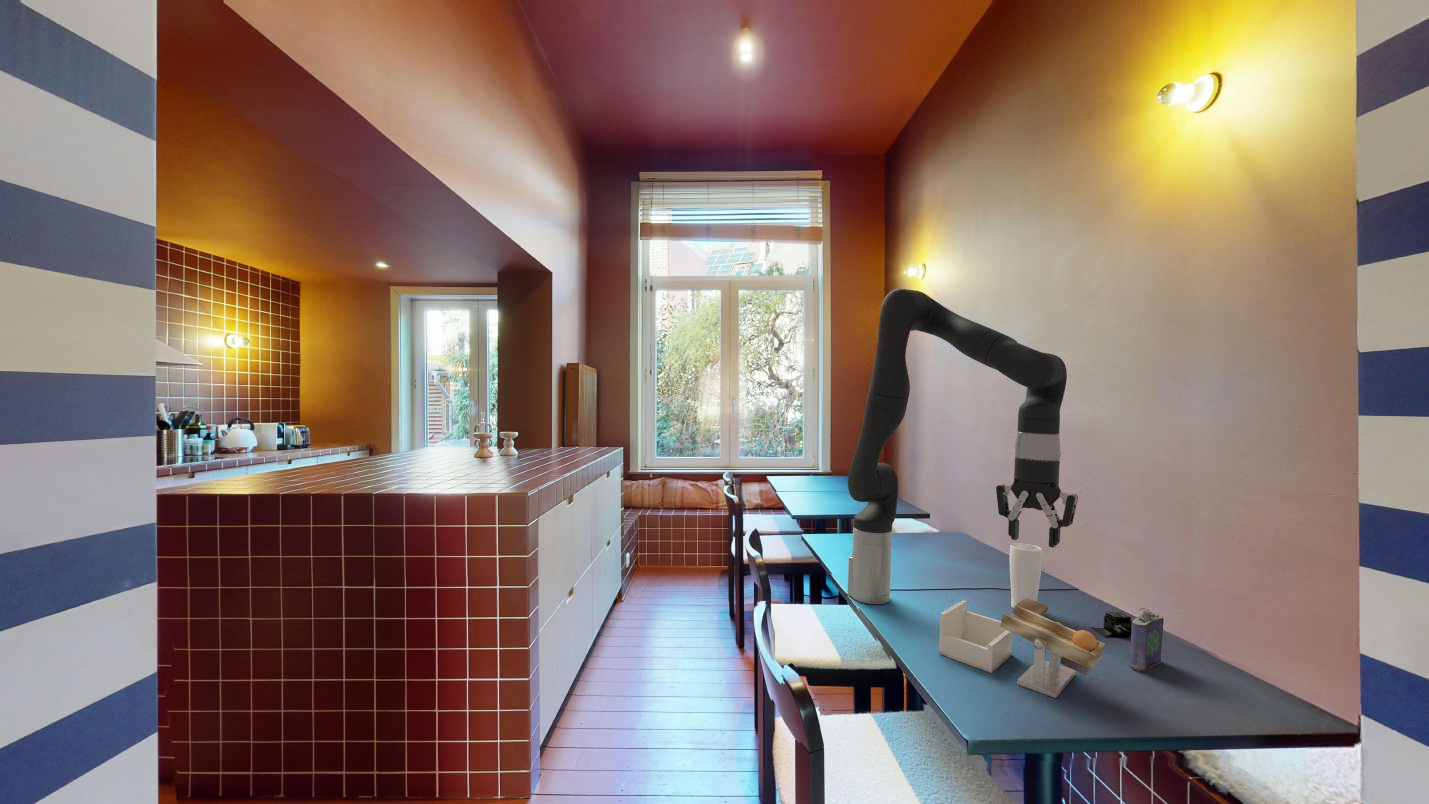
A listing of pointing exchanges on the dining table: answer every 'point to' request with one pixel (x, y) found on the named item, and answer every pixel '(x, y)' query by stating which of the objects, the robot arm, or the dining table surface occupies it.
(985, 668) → the white open bin
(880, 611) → the dining table surface
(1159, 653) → the flask
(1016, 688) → the dining table surface
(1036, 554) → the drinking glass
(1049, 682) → the stand
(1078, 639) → the ball
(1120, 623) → the black blocky device
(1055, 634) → the chute
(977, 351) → the robot arm
